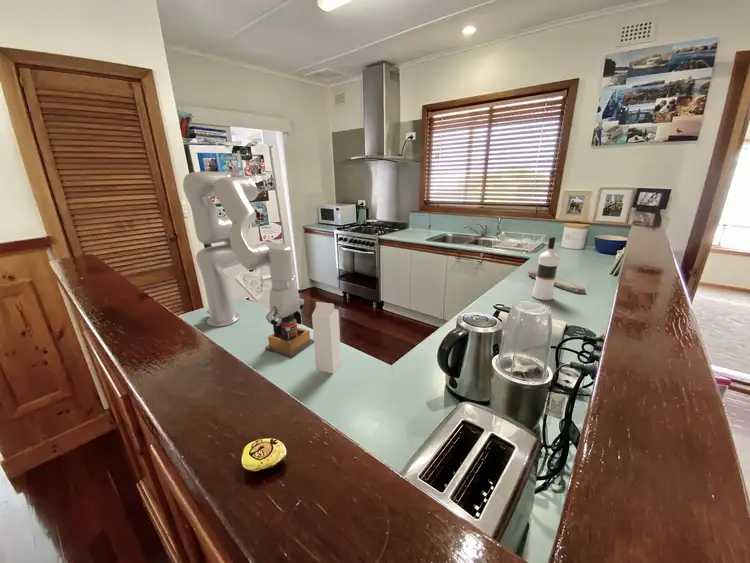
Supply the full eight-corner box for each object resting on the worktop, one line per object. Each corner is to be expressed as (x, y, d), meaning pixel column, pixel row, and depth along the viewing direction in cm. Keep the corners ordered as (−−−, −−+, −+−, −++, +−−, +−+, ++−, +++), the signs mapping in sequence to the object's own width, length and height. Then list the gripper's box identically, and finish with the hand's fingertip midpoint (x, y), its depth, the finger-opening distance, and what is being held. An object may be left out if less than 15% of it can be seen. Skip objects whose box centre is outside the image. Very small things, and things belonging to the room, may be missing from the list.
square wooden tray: (265, 349, 109) (263, 337, 108) (289, 335, 119) (288, 323, 118) (291, 358, 104) (289, 345, 102) (314, 342, 114) (313, 330, 112)
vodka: (528, 294, 158) (537, 235, 148) (546, 294, 158) (556, 235, 148) (537, 301, 149) (548, 239, 140) (556, 300, 149) (568, 238, 140)
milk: (324, 360, 103) (320, 298, 96) (341, 363, 101) (338, 300, 94) (315, 370, 97) (310, 305, 90) (333, 374, 95) (329, 307, 89)
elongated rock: (575, 298, 157) (589, 296, 160) (578, 288, 155) (592, 286, 158) (522, 275, 187) (535, 274, 191) (524, 266, 185) (537, 266, 189)
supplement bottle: (294, 348, 108) (290, 318, 105) (278, 346, 109) (274, 317, 106) (301, 339, 114) (298, 311, 110) (286, 338, 115) (283, 310, 111)
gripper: (292, 274, 113) (297, 317, 118) (254, 289, 98) (261, 337, 104) (309, 277, 109) (312, 321, 115) (272, 292, 95) (278, 342, 101)
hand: (288, 329), depth 109 cm, fingers open, 9 cm apart
